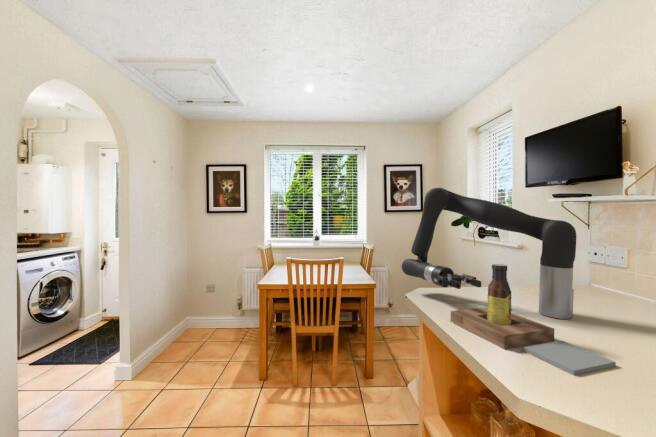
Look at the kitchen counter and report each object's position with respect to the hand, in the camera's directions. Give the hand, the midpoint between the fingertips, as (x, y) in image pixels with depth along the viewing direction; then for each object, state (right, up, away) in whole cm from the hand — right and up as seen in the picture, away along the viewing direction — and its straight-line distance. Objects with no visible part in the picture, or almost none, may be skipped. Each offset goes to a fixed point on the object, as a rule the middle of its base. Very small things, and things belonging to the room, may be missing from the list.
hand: (470, 285), depth 101 cm
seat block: (+3, -11, -11) cm, 16 cm away
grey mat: (+11, -12, -27) cm, 32 cm away
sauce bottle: (+3, -12, -11) cm, 16 cm away
